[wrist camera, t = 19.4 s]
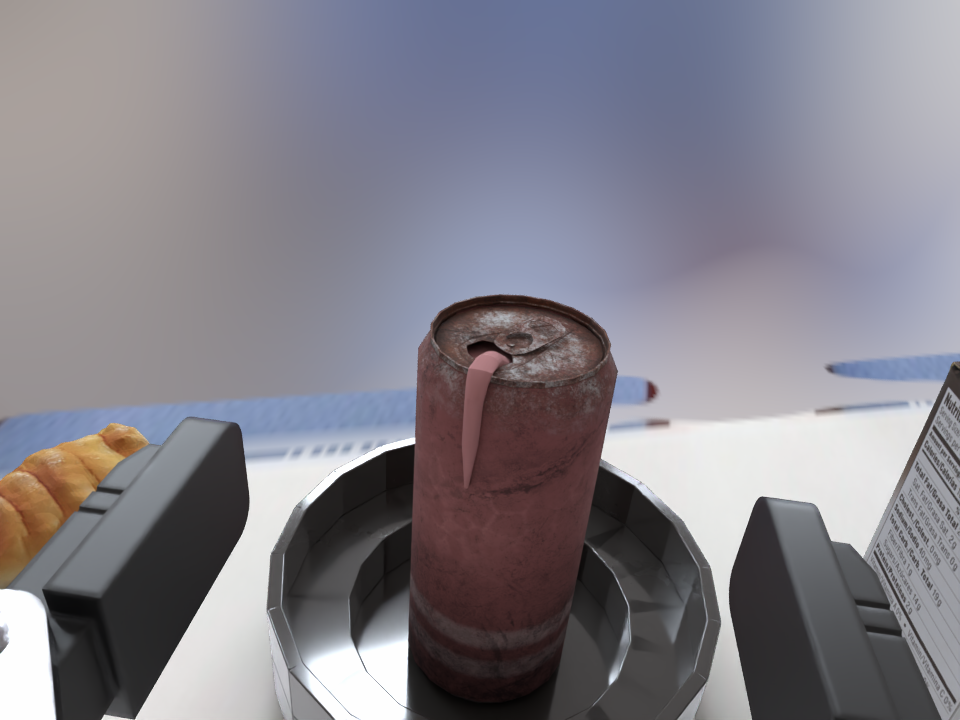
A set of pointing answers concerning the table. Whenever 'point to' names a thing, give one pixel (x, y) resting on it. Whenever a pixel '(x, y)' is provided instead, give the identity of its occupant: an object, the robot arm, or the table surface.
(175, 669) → the table surface
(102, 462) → the pastry
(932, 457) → the coffee box
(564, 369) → the can
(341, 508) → the bowl
